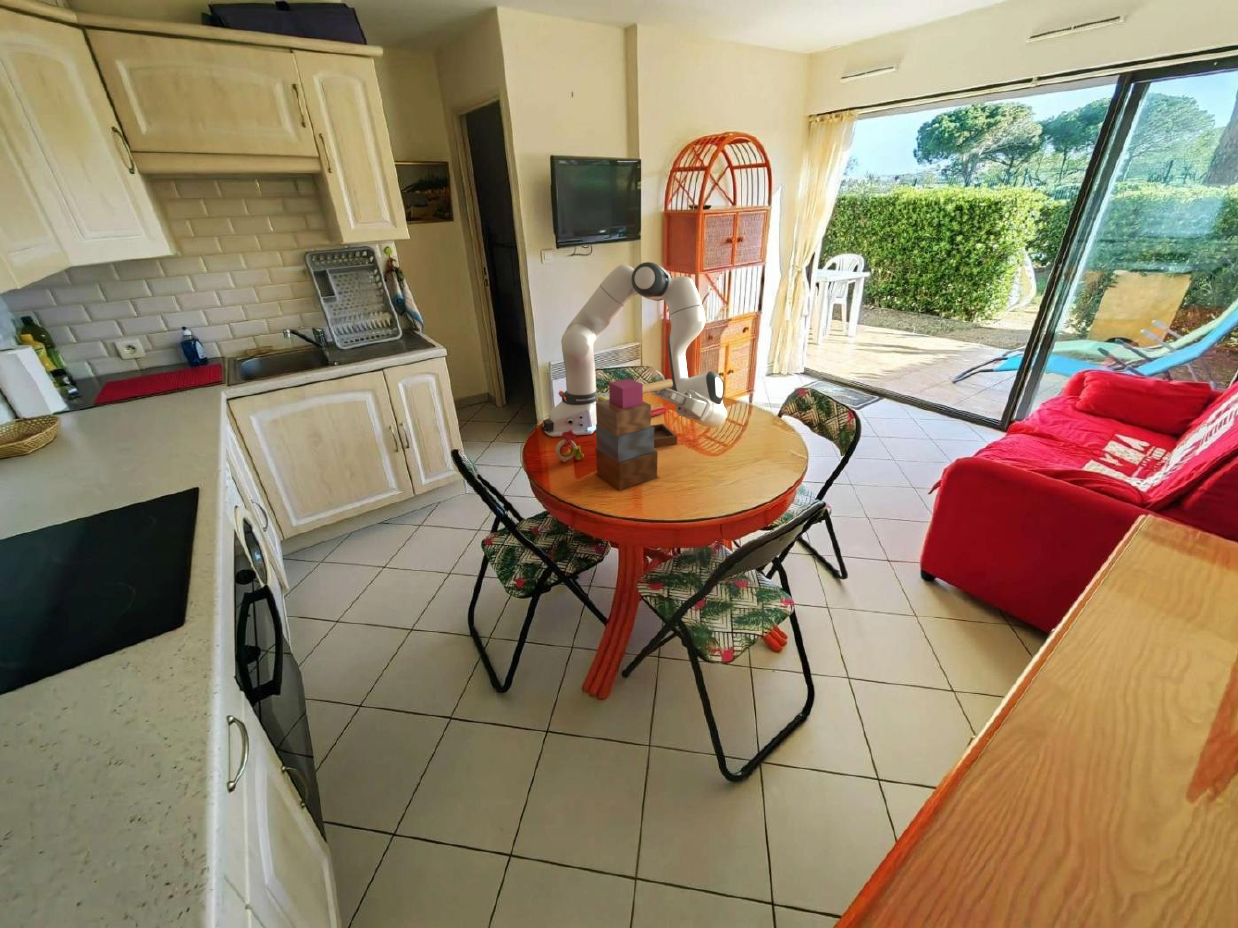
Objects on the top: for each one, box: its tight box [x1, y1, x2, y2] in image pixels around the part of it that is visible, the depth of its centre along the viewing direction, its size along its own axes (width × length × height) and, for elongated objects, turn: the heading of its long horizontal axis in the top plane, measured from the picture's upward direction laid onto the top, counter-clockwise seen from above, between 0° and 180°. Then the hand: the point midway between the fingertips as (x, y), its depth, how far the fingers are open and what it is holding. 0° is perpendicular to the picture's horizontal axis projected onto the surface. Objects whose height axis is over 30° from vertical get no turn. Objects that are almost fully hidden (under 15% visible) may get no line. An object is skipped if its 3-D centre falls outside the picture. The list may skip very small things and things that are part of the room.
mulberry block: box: [608, 378, 673, 409], centre depth 151 cm, size 20×7×6 cm, turn 124°
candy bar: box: [651, 406, 669, 417], centre depth 204 cm, size 16×4×3 cm, turn 123°
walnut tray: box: [651, 423, 678, 448], centre depth 183 cm, size 17×13×3 cm
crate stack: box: [595, 400, 658, 491], centre depth 154 cm, size 14×13×24 cm
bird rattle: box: [555, 430, 585, 463], centre depth 168 cm, size 6×11×9 cm
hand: (660, 390), depth 155 cm, fingers open, 8 cm apart
